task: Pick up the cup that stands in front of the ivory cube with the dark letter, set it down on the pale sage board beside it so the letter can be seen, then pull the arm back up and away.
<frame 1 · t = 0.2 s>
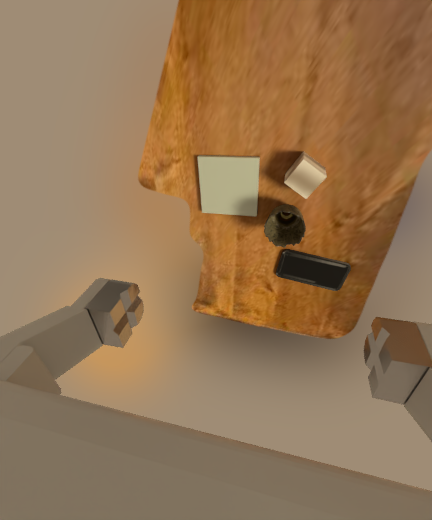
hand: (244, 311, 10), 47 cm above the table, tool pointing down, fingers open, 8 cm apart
letter cube: (304, 170, 52), on the table
sage board: (229, 185, 57), on the table
phone: (311, 268, 65), on the table
cup: (286, 211, 58), on the table
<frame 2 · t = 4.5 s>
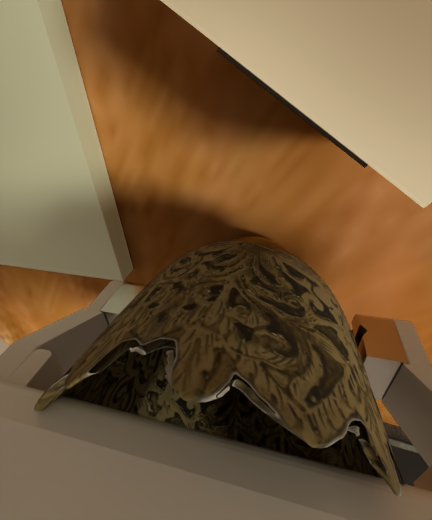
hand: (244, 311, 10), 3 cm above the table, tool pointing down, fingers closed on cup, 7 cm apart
phone: (352, 438, 19), on the table
cup: (255, 263, 12), on the table, touching gripper
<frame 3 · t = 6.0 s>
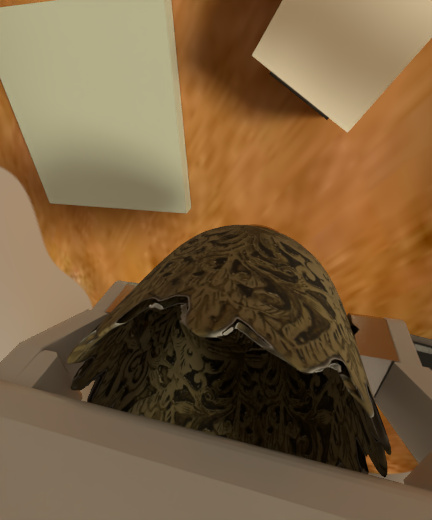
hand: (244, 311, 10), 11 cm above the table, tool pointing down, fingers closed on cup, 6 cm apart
letter cube: (336, 38, 14), on the table
sage board: (100, 120, 19), on the table
phone: (338, 344, 26), on the table
cup: (257, 251, 13), point 8 cm above the table, touching gripper
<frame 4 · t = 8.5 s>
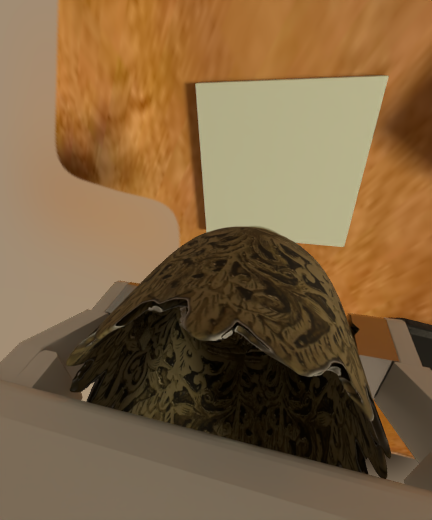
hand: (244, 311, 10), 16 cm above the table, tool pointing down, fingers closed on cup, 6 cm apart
sage board: (278, 169, 22), on the table
cup: (256, 252, 13), point 12 cm above the table, touching gripper
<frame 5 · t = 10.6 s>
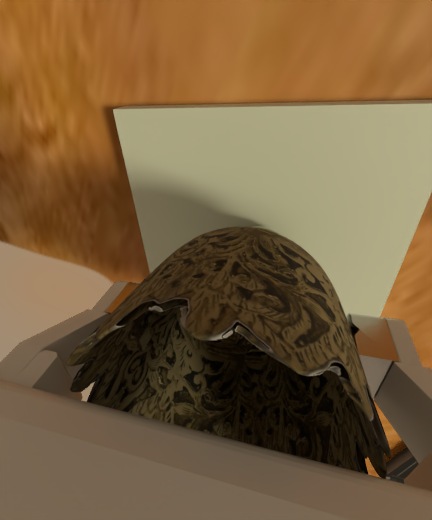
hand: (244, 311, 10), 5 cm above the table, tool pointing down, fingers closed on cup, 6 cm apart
sage board: (260, 240, 14), on the table
cup: (256, 252, 13), point 1 cm above the table, touching gripper
when the fingers open (5 cm above the table, at t = 11.3 s): cup moves 1 cm, resting on sage board.
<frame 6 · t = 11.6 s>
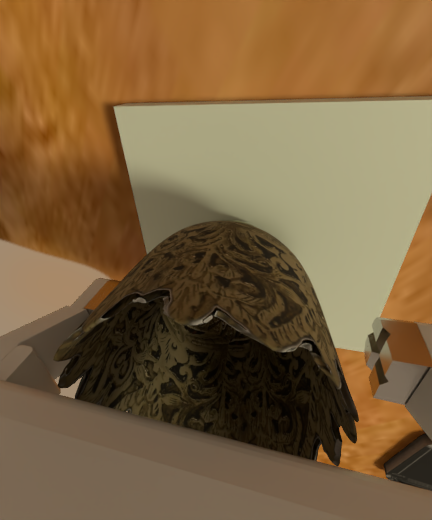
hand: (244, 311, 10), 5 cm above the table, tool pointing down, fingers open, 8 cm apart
sage board: (261, 238, 14), on the table
cup: (235, 245, 13), point 1 cm above the table, touching gripper, sage board
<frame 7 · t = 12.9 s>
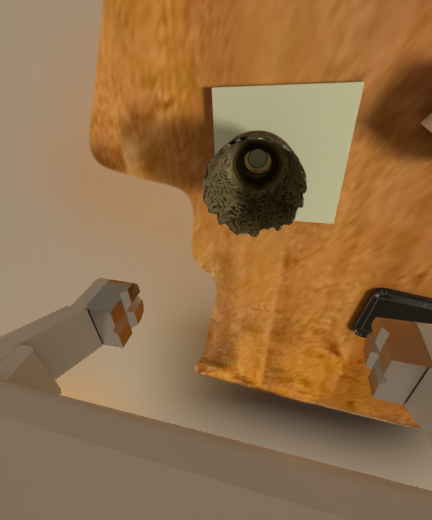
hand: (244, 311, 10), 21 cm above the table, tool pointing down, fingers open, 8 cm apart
sage board: (278, 158, 27), on the table
phone: (425, 321, 34), on the table
cup: (257, 157, 26), point 1 cm above the table, touching sage board
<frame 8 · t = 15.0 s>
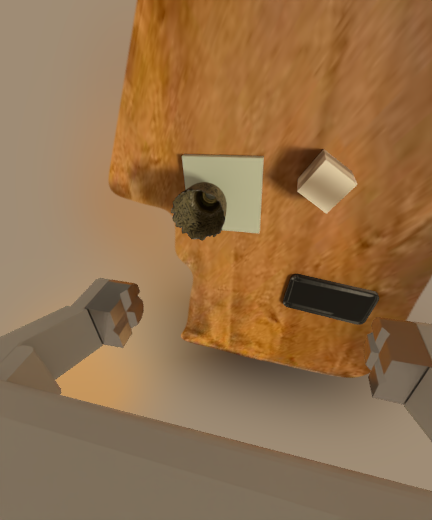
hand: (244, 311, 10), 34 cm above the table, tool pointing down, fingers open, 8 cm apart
letter cube: (324, 174, 39), on the table
sage board: (223, 194, 44), on the table
phone: (327, 296, 51), on the table
cup: (211, 193, 44), point 1 cm above the table, touching sage board
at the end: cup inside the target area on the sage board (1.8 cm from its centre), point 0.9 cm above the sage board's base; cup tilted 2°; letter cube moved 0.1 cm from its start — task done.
